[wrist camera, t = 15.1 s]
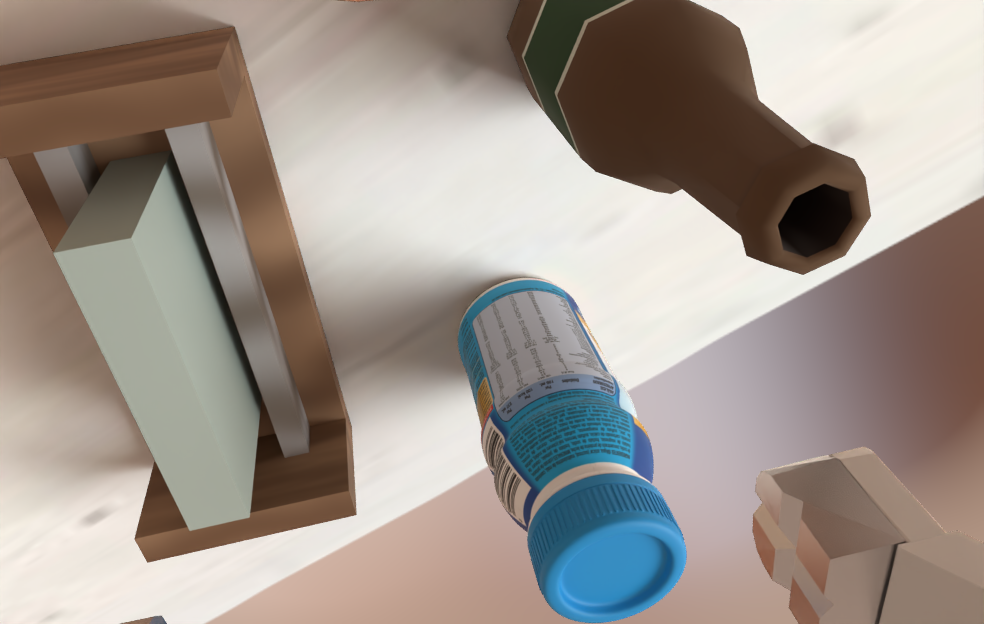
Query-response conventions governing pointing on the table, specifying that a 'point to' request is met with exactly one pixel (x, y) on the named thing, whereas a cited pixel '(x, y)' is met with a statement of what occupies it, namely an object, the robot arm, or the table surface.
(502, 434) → the beverage bottle
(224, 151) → the door track
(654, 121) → the beer bottle
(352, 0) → the lidded bowl
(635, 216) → the table surface
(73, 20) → the table surface
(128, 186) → the grey-green rectangular block
